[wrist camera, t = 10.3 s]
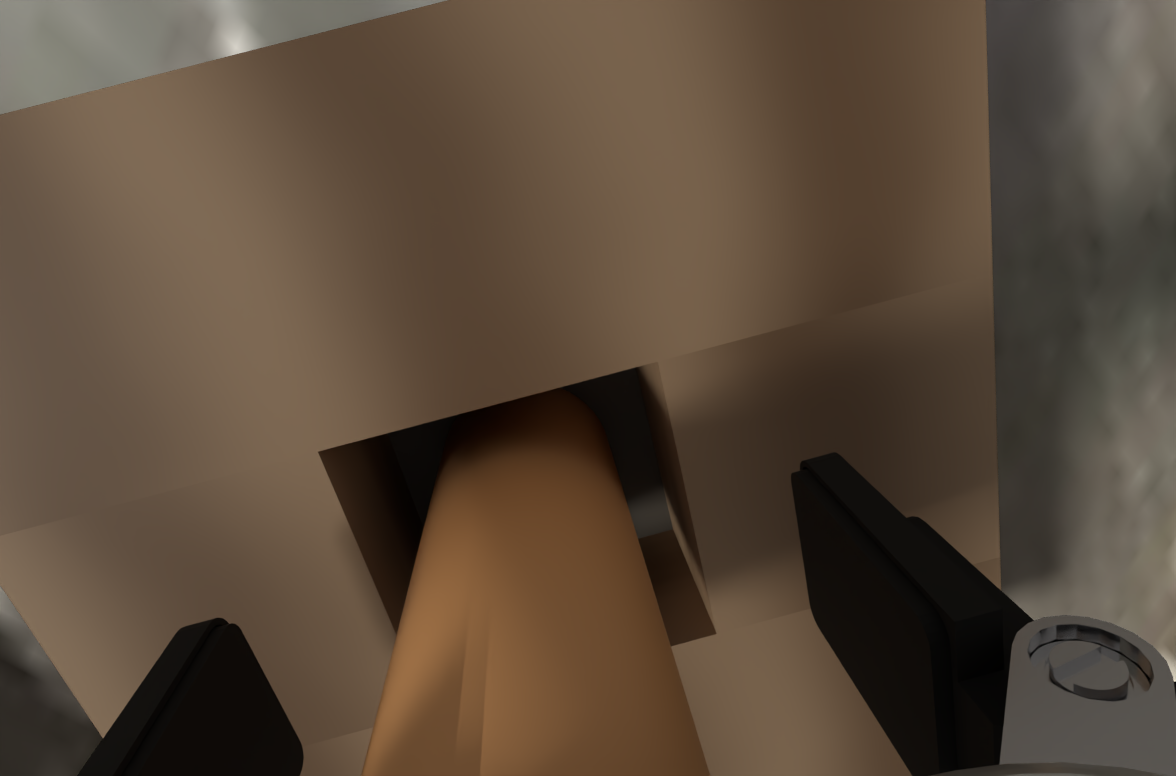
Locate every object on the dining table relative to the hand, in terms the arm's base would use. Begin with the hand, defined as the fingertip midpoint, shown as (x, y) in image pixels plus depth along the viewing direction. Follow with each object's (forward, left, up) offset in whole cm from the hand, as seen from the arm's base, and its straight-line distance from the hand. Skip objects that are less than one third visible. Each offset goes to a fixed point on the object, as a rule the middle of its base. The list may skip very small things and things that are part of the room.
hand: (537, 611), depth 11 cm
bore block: (0, 0, -7) cm, 7 cm away
